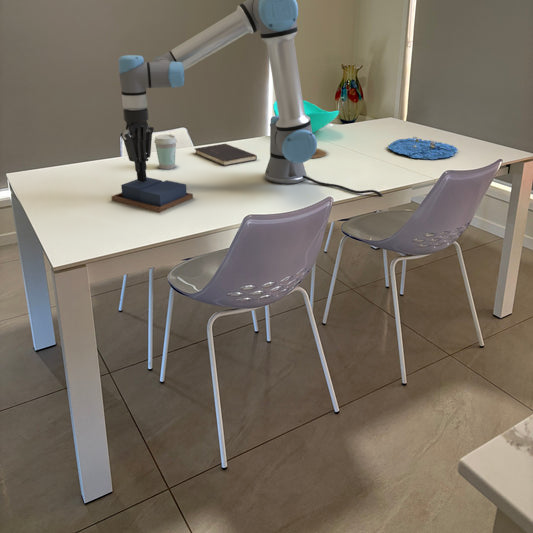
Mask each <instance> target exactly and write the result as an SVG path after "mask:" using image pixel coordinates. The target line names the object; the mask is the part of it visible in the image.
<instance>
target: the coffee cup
mask: <svg viewBox="0 0 533 533" xmlns="http://www.w3.org/2000/svg"><path fill="white" fill-rule="evenodd" d="M177 142H178V141H177V138H176V136H175V135H173V134H159V135H156V136H155V138H154V145H155V150H156V155H157V160H158V161H157V162H158V165H159V168H160V169H161V170H172V169H175V167H176V151H177Z"/></svg>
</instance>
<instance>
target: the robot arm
mask: <svg viewBox="0 0 533 533" xmlns="http://www.w3.org/2000/svg"><path fill="white" fill-rule="evenodd" d="M298 16H299V5H298V2H297V0H245V1H243V2H242V3H240V4H238V6H237V8H236V10H235V11H233V12H232V13H230V14H228V15H227V16H225V17H224V18H222V19H220V20H219V21H217V22H215V23H214V24H211V25H210V26H209V27H207V28H206V29H204V30H202V31H200V32H199V33H197V34H195V35H194V36H192V37H191V38H189V39H187V40H186V41H183V42H182V43H181V44H179V45H177V46H176V47H174V48H172V49H171V50H170V51H168V52H165V53H164V54H163V55H159V56H156V57H155V58H154V59H153V60H152V62H149V61H145V59H144V57H143V56H142V55H139V54H136V55H135V54H128V55H121V56H120V57H119V58H118V71H119V72H118V74H119V84H120V92H121V102H122V107H123V108H124V109H122V111H123V112H122V113H123V120H124V121H125V123H126V125H125V131H124V132H121V133H120V137H121V139H122V141H123V143H124V147H125V150H126V154H127V158H128V160H129V162H133V163H134V170H135V172H136V179H137V181H141V182H145V181H147V179H146V177H147V162H148V161H149V158H151V154H152V153H151V152H152V142H153V140H152V138H153V133H154V127H153V126H150V125H149V123H148V121H149V110H148V108H147V107H148V97H147V96H148V95H147V89H151V88H157V89H158V88H159V89H160V88H172V89H173V88H174V89H175V88H182V87H183V86H184V85H185V71H186V70H188V69H190V68H191V67H193V66H194V65H196V64H198V63H200V62H201V61H203V60H204V59H206V58H208V57H210V56H212V55H213V54H215V53H216V52H218V51H220V50H222V49H224V48H225V47H227V46H228V45H230V44H231V43H233V42H235V41H237V40H238V39H240V38H241V37H243V36H245V35H247V34H251V35H253V34H254V33H256V32H258V31H259V35H260V39H261V40H262V41H263V42H264V43H265V44H266V47H267V52H268V58H269V64H270V71H271V78H272V83H273V88H274V94H275V101H277V107H278V113H279V115H278V116H275V115H274V116H271V117H270V124H269V127H270V128H269V129H270V130H269V131H270V132H269V133H270V134H269V135H270V136H269V159H268V162H267V165H266V167H265V168H266V169H265V172H264V179H265V180H266V181H268V182H269V183H273V184H280V185H292V184H293V185H294V184H299V183H303V182H304V181H306V180H308V181H310V182H312V183H314V184H317V185H321V186H325V187H326V186H327V187H332V188H338V189H342V190H344V191H347V192H350V193H352V194H353V193H354V194H368V193H369V194H370V193H372V194H376V195H377V196H379V197H380V198H383V197H384V196H383V194H382V193H381V192H379V191H377V190H375V189H366V190H355V189H351V188H348V187H346V186H343V185H340V184H335V183H328V182H322V181H318V180H315V179H313V178H311V177H309V176H307V171H306V167H305V164H304V163H306V162H308V161H309V160H311V159H312V158H311V157H312V156H313V155H314V154H315V152H316V149H318V141H317V138H315V137H316V136H315V134H314V133H312V128H311V121H310V117H308V116H307V115H306V114H305V112H304V105H303V100H304V99H303V92H302V91H303V90H302V86H301V85H302V84H301V78H300V72H299V65H298V59H297V58H298V57H297V51H296V45H295V44H296V43H295V37H296V36H297V34H298V32H299V30H298V24H297V20H298Z"/></svg>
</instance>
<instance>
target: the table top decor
mask: <svg viewBox="0 0 533 533" xmlns="http://www.w3.org/2000/svg"><path fill="white" fill-rule="evenodd" d="M303 105H304V112H305V114H306V115H307V116H308V117H310V121H311V128H312V133H313V134H314V133H315V132H318V131H319V130H320V129H323V128H324V127H327V125H329V124H330V123H332V122H333V121H334V120H335V119H336V118H337V117H338V115H339V114H340V110H334V111H328V110H324V109H322V108H321V107H318V106H317V105H316V104H314V103H311V102H310V101H307V100H304V99H303ZM272 106H273V108H272V109H273V112H274V116H278V115H279V113H278V107H277V101H276V100H275V101H274V103H273V104H272Z"/></svg>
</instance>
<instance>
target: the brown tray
mask: <svg viewBox="0 0 533 533" xmlns="http://www.w3.org/2000/svg"><path fill="white" fill-rule="evenodd" d="M192 199H194V193H190V192H187V195H186V196H184V197H181V198H179V199H177V200H174V201H172V202H170V203H167V204H165V205H163V206H160V207H158V206H153V205H149V204H145V203H141V202H137V201H133V200H129V199H125V198H123V197H122V192H119V193H116V194H114V195H111V201H112V202H115V203H119V204H123V205H127V206H132V207H135V208H139V209H143V210H147V211H151V212H155V213H162V212H165V211H167V210H169V209H171V208H174V207H177V206H178V205H181V204H183V203H185V202H188V201H190V200H192Z"/></svg>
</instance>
